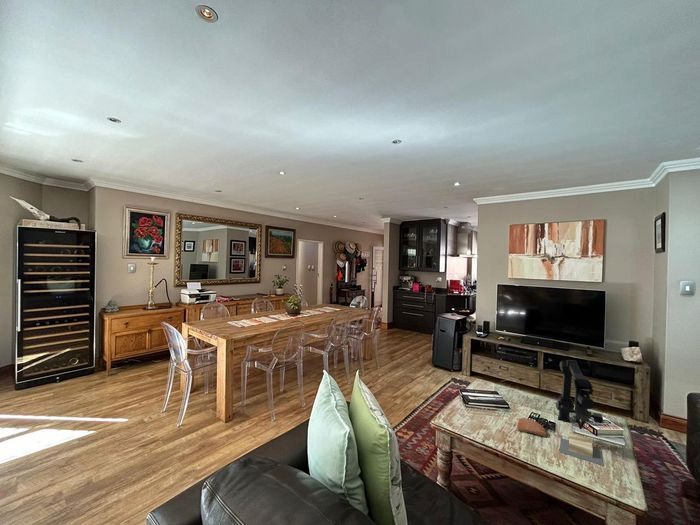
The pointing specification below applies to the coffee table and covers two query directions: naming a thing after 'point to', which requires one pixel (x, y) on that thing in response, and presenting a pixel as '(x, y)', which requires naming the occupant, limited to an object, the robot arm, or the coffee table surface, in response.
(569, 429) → the coffee table surface
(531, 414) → the coffee table surface
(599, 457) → the mat
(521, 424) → the ceramic shard
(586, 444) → the oak slab
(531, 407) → the coffee table surface
